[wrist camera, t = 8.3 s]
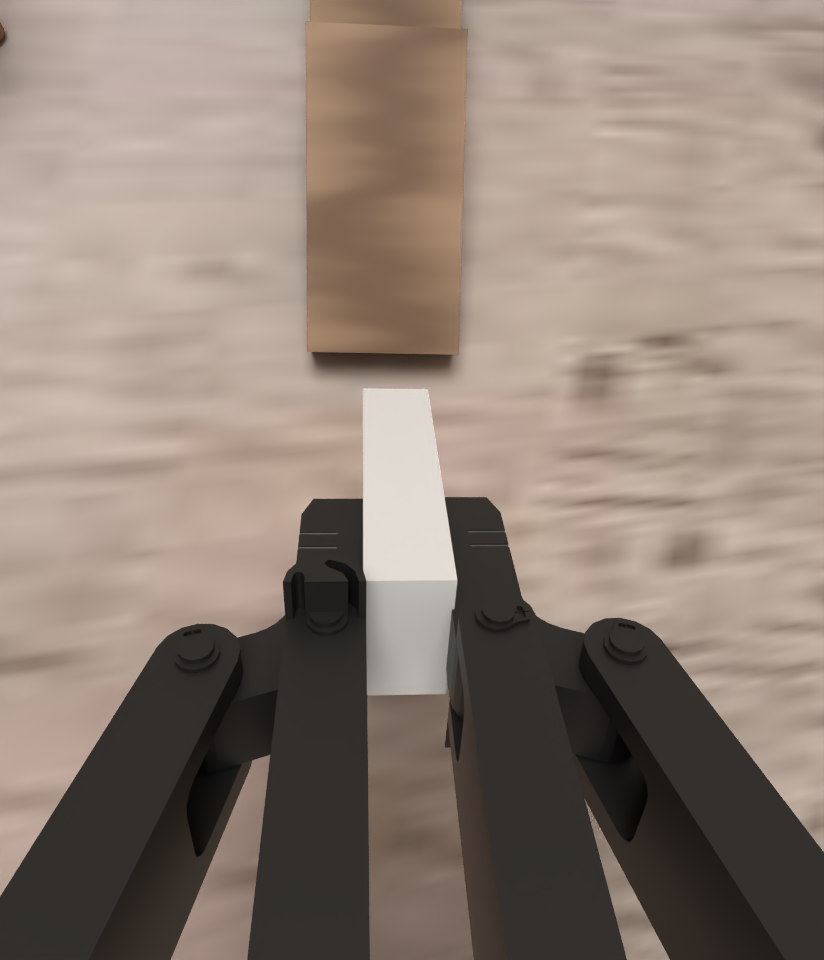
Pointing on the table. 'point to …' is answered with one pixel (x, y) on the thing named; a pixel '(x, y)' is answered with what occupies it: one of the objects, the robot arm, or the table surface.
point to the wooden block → (1, 32)
